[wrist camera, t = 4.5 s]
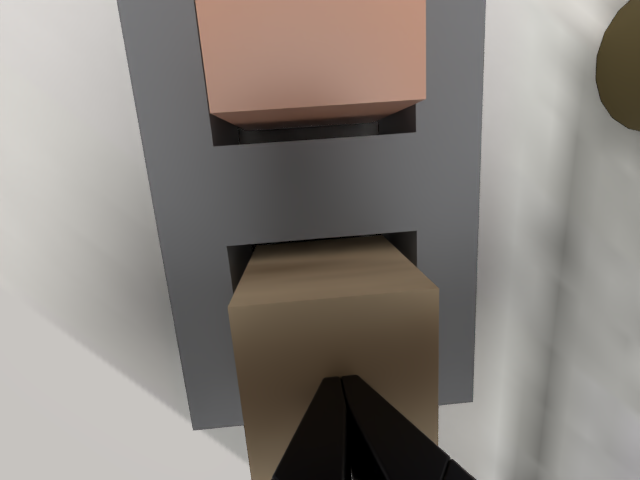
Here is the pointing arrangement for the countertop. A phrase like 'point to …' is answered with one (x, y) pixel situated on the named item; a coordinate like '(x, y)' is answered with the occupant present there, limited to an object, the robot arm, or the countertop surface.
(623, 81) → the olive brown cylinder
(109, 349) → the countertop surface
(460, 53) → the grey socket block
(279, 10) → the terracotta key
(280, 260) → the oak key
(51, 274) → the countertop surface
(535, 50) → the countertop surface
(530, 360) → the countertop surface
